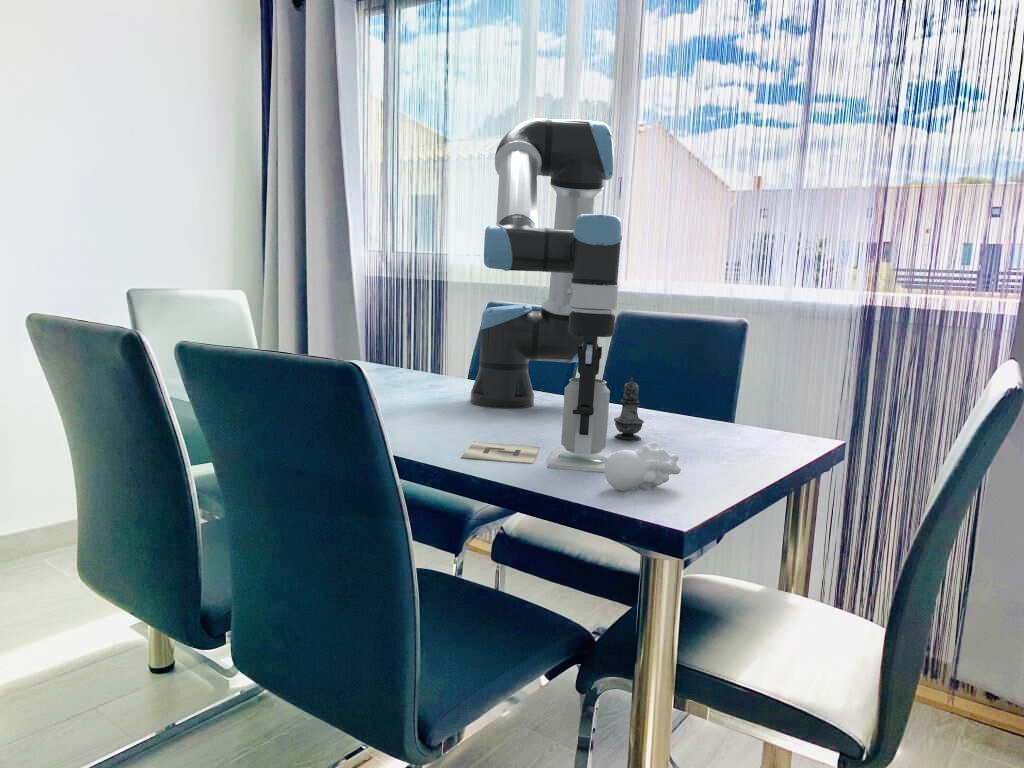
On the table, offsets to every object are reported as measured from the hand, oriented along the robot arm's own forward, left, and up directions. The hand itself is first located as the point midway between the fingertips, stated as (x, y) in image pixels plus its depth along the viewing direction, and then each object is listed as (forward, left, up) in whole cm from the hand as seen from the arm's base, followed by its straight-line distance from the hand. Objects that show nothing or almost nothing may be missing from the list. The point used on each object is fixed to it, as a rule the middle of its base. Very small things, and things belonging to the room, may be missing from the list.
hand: (583, 447), depth 126 cm
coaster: (0, 0, -2) cm, 2 cm away
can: (0, 0, -1) cm, 1 cm away
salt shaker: (-22, +8, -3) cm, 23 cm away
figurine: (+13, +9, -3) cm, 16 cm away
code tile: (-2, -14, -2) cm, 14 cm away
